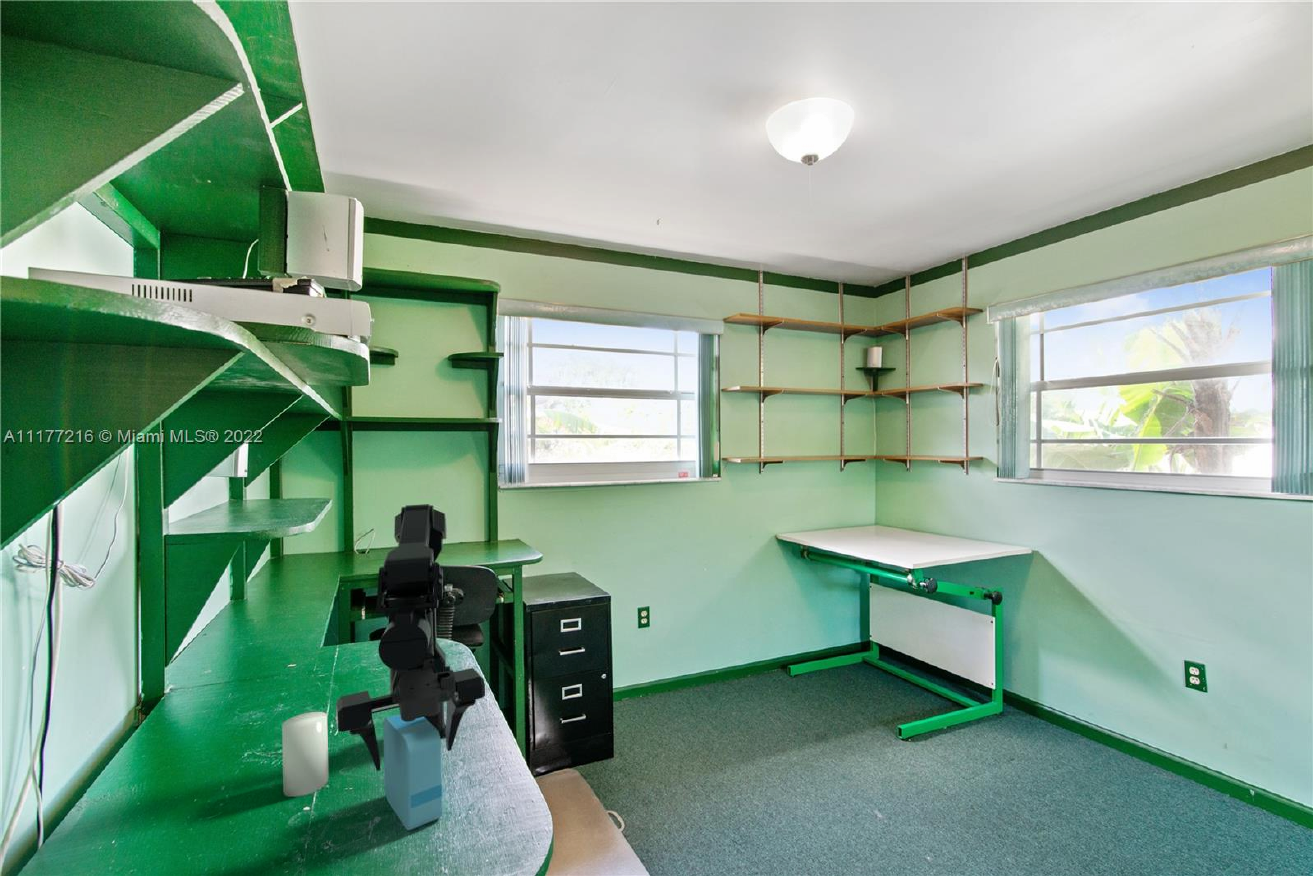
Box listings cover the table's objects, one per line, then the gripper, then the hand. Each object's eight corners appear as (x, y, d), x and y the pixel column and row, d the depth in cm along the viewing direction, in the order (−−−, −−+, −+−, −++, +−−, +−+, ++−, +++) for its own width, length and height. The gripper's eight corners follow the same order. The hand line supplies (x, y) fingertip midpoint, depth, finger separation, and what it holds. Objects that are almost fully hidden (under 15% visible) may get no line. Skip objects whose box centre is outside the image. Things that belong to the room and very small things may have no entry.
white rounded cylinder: (283, 783, 92) (282, 718, 93) (327, 771, 95) (326, 708, 96) (282, 801, 87) (281, 732, 88) (329, 788, 90) (327, 722, 91)
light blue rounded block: (443, 821, 81) (441, 732, 81) (409, 836, 78) (407, 743, 78) (416, 786, 90) (414, 706, 90) (384, 798, 87) (382, 715, 88)
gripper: (338, 679, 71) (341, 811, 70) (494, 647, 81) (497, 764, 80) (334, 654, 80) (337, 770, 80) (473, 628, 90) (476, 732, 90)
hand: (414, 759), depth 82 cm, fingers open, 9 cm apart
